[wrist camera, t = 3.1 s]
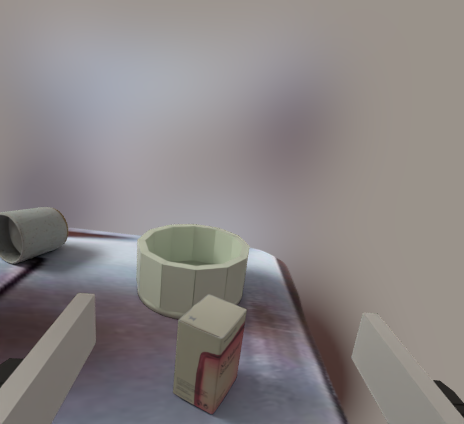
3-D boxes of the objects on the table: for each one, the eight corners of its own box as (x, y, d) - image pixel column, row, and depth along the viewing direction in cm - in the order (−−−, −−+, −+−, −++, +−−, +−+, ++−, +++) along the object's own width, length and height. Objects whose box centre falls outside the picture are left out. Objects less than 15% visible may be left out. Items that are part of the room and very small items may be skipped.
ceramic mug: (73, 251, 51) (71, 207, 49) (24, 270, 44) (19, 219, 42) (29, 236, 55) (25, 195, 53) (-22, 252, 48) (-29, 204, 45)
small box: (212, 417, 26) (222, 339, 23) (171, 393, 27) (176, 319, 25) (238, 377, 30) (248, 308, 28) (201, 358, 32) (208, 292, 30)
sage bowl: (191, 337, 35) (196, 283, 33) (115, 284, 43) (115, 238, 41) (261, 289, 46) (268, 247, 44) (191, 255, 55) (194, 218, 53)
